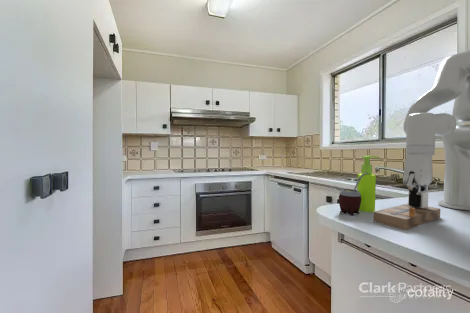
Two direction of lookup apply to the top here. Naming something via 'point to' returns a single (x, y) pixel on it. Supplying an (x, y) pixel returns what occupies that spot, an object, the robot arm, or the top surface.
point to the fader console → (406, 216)
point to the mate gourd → (350, 200)
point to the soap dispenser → (367, 186)
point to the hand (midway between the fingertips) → (418, 205)
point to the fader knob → (423, 199)
